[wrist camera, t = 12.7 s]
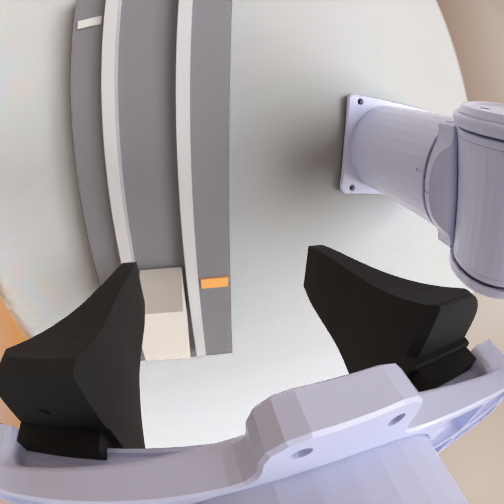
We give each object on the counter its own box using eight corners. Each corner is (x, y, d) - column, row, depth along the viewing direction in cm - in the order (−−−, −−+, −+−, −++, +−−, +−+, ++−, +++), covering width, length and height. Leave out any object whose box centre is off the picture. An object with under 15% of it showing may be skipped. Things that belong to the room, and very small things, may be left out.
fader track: (228, -17, 14) (235, -33, 11) (228, 337, 28) (234, 360, 25) (86, -2, 12) (73, -15, 9) (127, 346, 26) (124, 369, 23)
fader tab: (181, 266, 21) (182, 311, 17) (186, 310, 23) (190, 357, 18) (140, 270, 20) (132, 315, 16) (149, 313, 22) (146, 360, 18)
